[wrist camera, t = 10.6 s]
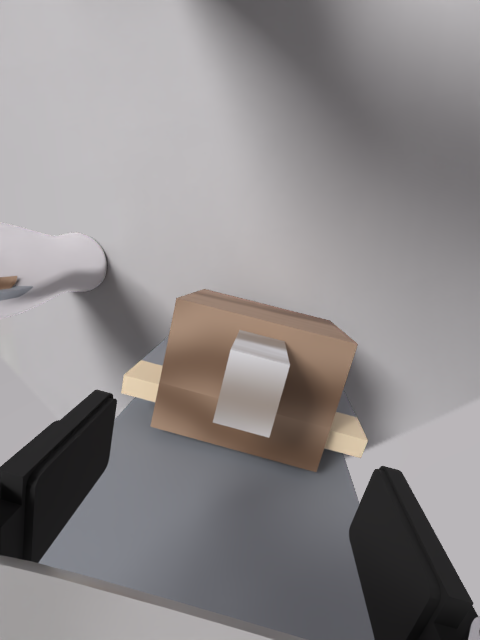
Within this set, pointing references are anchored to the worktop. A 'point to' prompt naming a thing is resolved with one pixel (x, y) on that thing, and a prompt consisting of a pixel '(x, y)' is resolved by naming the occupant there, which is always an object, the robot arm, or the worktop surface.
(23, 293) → the beer glass
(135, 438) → the wall board
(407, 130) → the worktop surface
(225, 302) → the walnut cabinet
